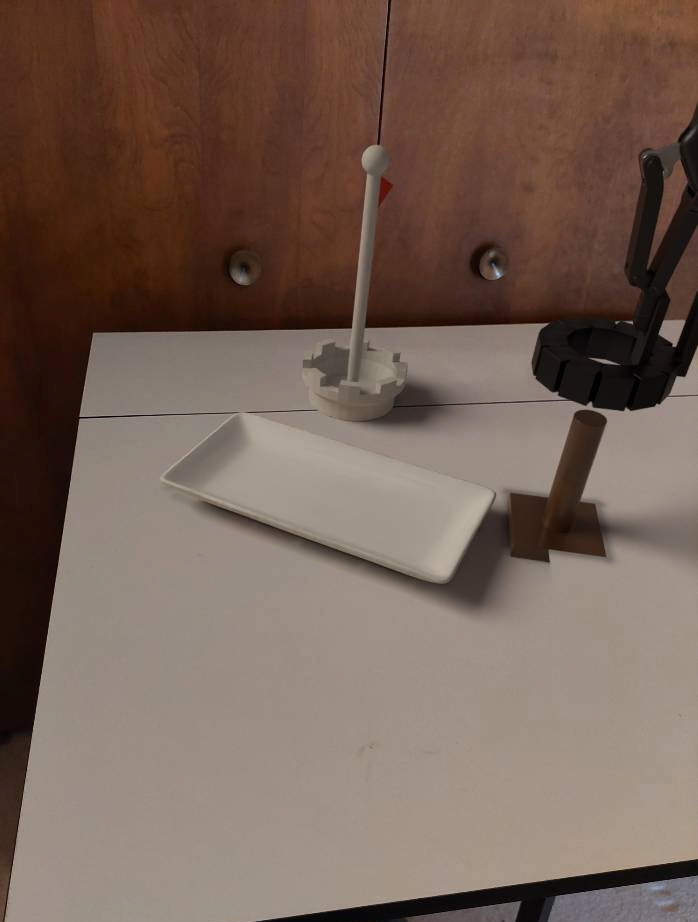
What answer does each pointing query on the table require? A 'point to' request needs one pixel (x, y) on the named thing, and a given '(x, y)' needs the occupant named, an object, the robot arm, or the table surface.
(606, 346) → the ring
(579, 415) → the post
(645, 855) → the table surface
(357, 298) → the flag stand
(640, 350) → the robot arm
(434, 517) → the tray
